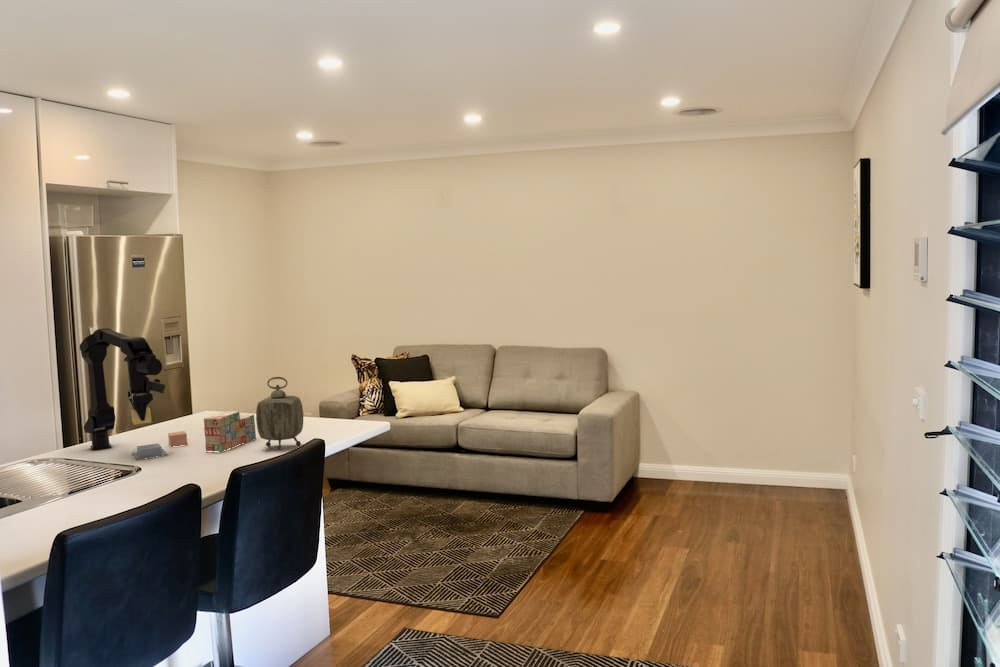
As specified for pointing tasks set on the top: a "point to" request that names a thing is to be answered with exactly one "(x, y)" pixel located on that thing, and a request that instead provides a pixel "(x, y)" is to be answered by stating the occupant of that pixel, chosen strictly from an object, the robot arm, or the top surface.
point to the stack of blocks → (228, 430)
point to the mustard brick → (137, 419)
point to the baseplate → (148, 451)
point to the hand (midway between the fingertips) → (141, 419)
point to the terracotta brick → (177, 438)
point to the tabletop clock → (279, 416)
